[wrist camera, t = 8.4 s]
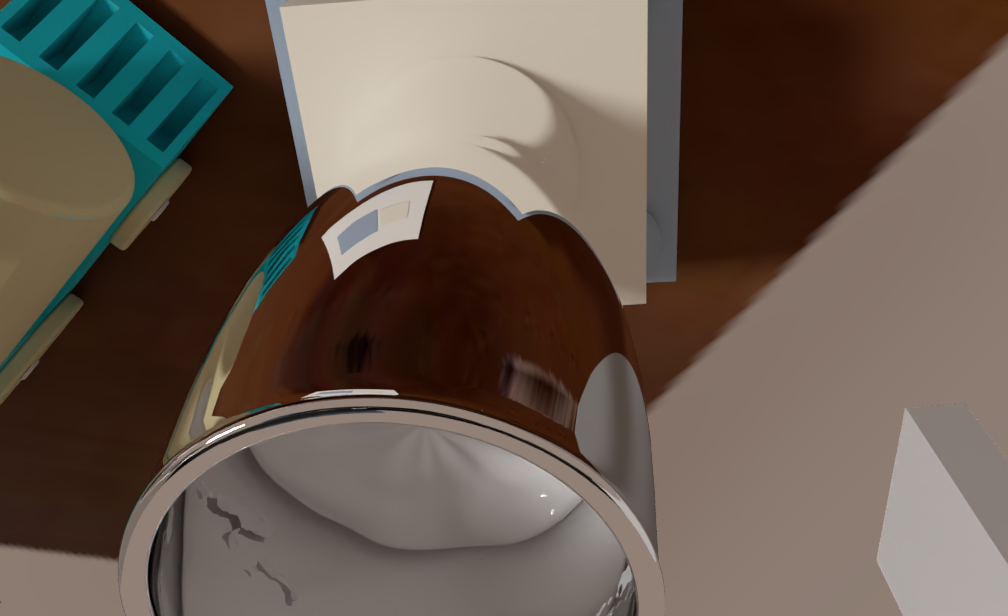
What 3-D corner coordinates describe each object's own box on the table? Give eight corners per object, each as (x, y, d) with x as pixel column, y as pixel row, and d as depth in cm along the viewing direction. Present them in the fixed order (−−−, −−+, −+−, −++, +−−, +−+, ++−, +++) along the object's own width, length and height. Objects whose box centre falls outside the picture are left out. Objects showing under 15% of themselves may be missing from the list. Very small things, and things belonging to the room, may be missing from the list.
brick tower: (346, 249, 34) (301, 365, 27) (284, -90, 28) (204, -54, 21) (660, 230, 33) (696, 344, 26) (664, -121, 27) (713, -95, 20)
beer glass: (480, 325, 26) (433, 850, 13) (285, 178, 24) (-6, 632, 11) (650, 159, 23) (808, 611, 10) (449, -25, 21) (324, 254, 8)
